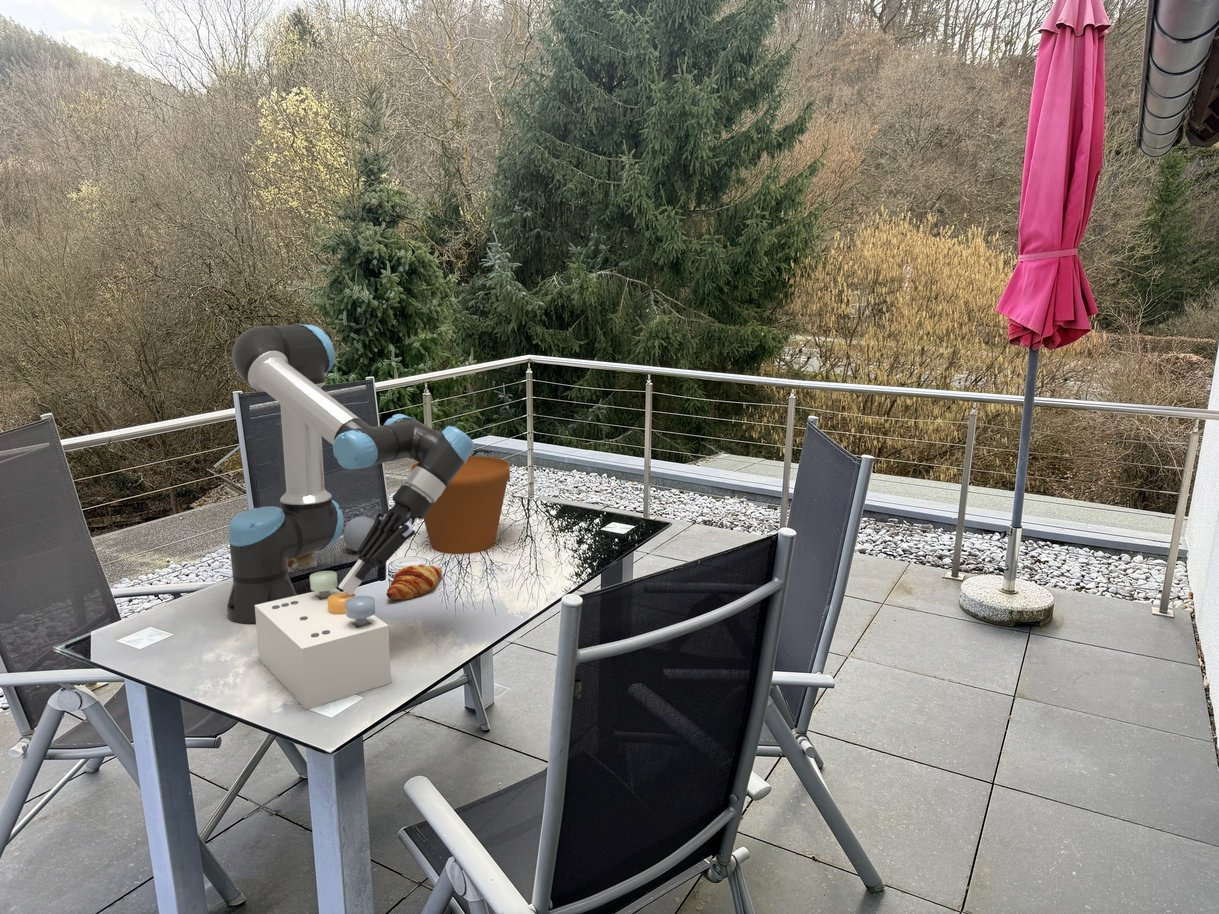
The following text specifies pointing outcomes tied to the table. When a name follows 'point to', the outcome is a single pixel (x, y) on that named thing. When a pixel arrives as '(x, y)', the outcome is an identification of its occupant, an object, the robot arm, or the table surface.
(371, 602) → the button slate
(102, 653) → the table surface
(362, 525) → the grey ball
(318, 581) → the button sage
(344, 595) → the button orange
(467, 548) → the flowerpot
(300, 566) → the coffee box
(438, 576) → the croissant
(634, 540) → the table surface
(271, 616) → the console
